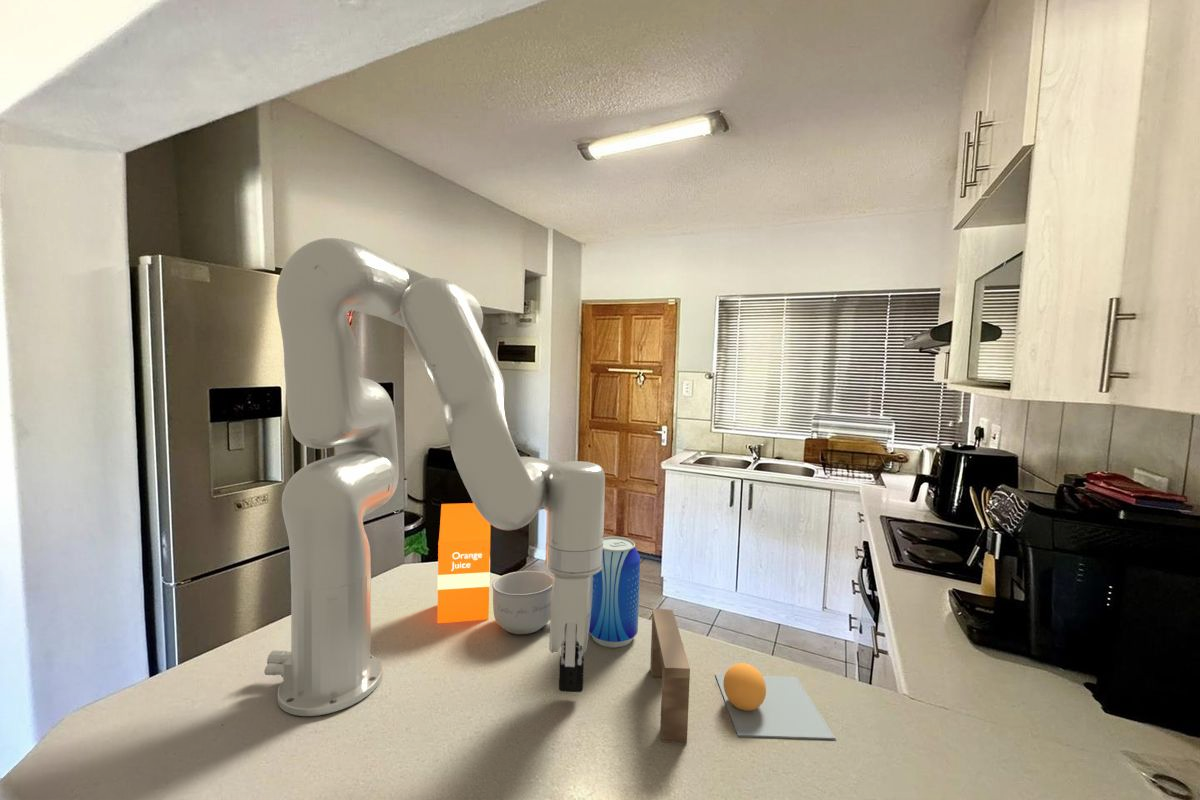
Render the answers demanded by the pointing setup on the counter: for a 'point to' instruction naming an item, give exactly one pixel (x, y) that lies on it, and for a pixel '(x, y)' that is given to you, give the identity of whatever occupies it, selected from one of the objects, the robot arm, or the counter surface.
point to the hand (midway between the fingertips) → (571, 687)
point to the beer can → (616, 594)
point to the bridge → (670, 675)
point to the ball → (744, 686)
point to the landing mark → (779, 712)
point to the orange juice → (463, 564)
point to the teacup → (522, 601)
